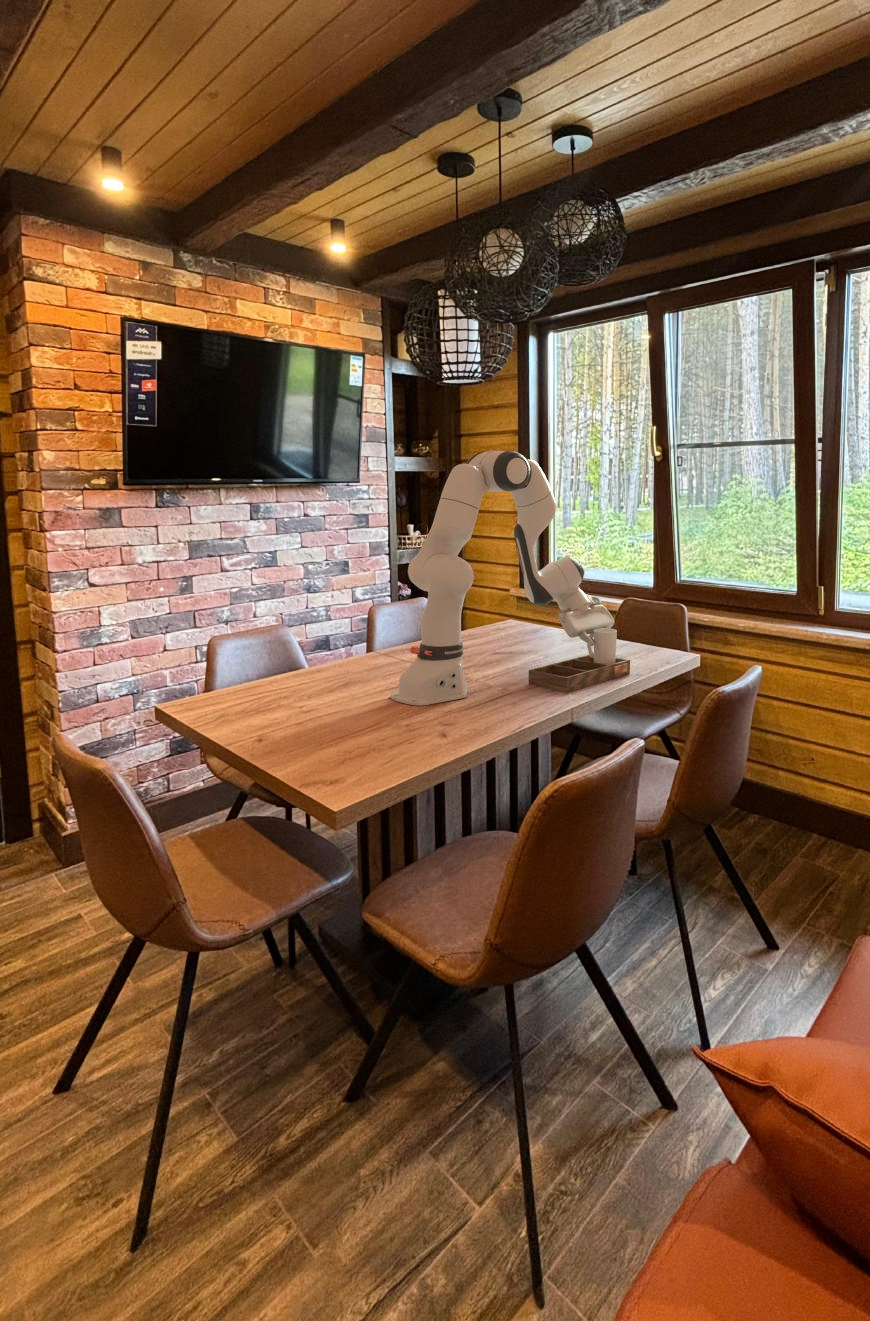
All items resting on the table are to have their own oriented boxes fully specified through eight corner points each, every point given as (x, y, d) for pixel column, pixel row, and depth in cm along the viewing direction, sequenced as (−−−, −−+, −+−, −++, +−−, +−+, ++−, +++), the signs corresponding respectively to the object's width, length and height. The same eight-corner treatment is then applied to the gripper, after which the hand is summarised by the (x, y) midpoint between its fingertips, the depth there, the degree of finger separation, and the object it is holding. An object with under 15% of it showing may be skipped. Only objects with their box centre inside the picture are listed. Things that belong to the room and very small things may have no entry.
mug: (620, 669, 226) (621, 630, 223) (606, 672, 222) (607, 633, 219) (594, 664, 234) (595, 626, 231) (580, 667, 230) (580, 629, 227)
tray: (568, 693, 206) (568, 678, 206) (528, 684, 217) (528, 670, 216) (631, 673, 226) (631, 660, 225) (592, 666, 237) (592, 653, 236)
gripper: (561, 604, 222) (587, 641, 217) (602, 597, 235) (628, 631, 230) (549, 618, 226) (574, 654, 221) (590, 609, 239) (615, 643, 234)
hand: (602, 642), depth 225 cm, fingers open, 8 cm apart
